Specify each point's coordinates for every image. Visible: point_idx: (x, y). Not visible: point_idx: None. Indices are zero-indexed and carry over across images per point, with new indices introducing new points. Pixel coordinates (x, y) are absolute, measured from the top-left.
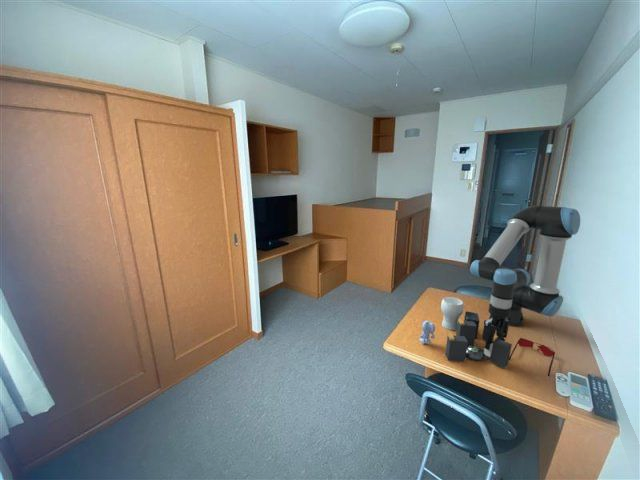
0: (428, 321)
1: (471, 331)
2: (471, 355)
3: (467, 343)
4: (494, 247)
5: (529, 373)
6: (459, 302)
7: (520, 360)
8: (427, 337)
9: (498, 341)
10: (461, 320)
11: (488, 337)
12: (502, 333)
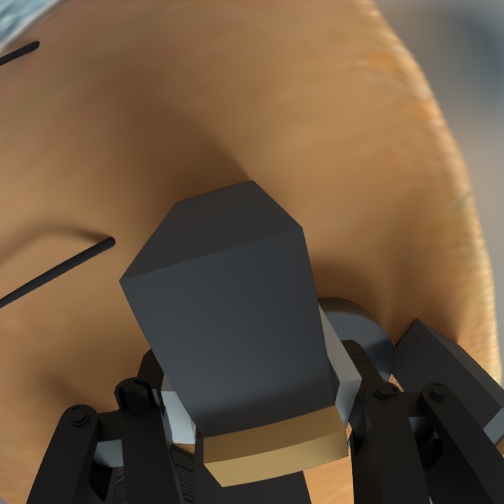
0: None
1: (249, 499)
2: (388, 342)
3: (495, 398)
4: None
5: (115, 83)
6: None
7: (45, 209)
8: None
9: (270, 395)
10: None
11: (480, 438)
12: (156, 497)
